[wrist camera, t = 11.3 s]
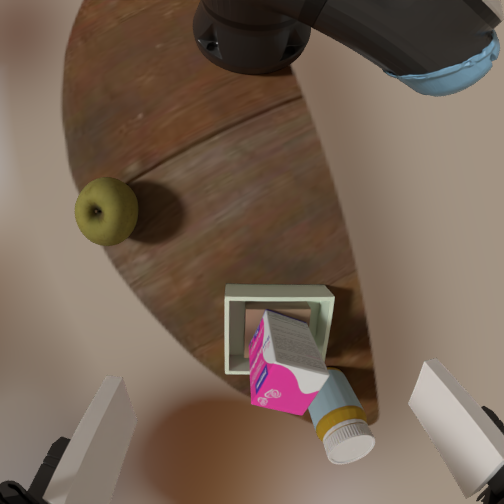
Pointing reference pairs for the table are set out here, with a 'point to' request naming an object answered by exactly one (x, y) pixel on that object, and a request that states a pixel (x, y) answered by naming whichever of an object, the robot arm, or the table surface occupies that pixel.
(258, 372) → the supplement box
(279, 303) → the walnut block
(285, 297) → the box
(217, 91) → the table surface
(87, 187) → the apple
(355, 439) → the bottle
